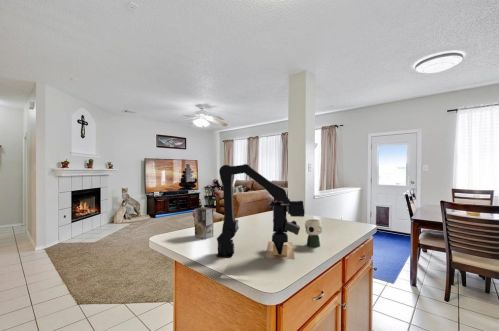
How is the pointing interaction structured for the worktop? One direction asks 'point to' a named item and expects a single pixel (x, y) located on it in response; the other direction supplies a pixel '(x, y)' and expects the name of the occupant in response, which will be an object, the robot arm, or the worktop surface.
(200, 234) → the coffee box
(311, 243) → the character mug
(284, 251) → the block
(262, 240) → the worktop surface
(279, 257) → the board
